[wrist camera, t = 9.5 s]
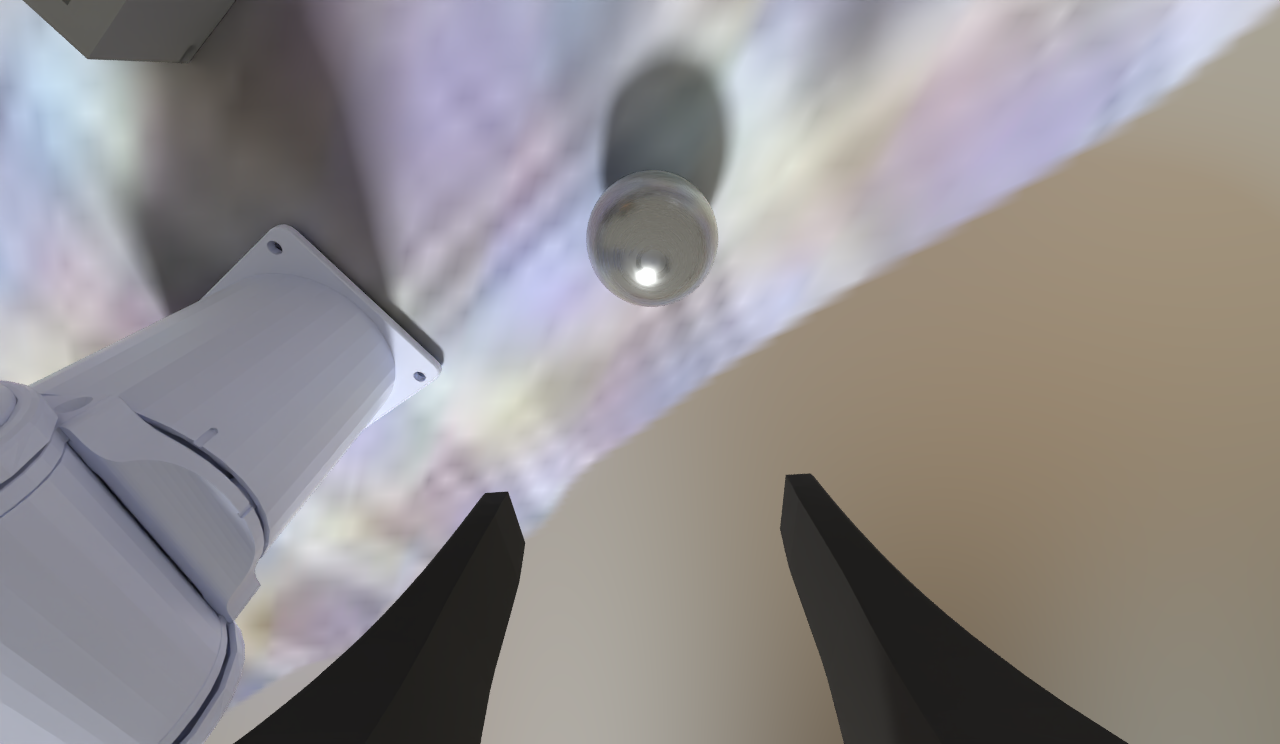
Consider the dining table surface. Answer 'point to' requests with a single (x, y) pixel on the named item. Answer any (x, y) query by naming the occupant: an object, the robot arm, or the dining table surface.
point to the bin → (134, 26)
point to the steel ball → (652, 238)
